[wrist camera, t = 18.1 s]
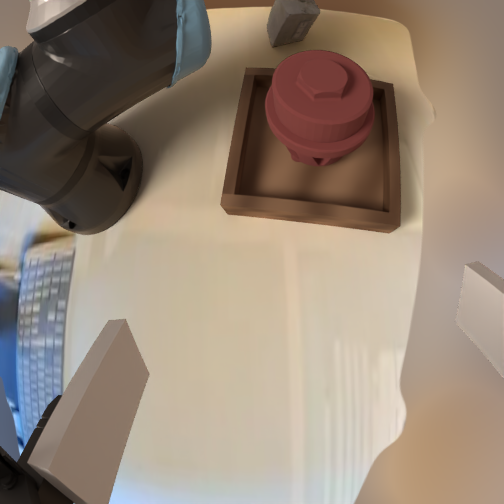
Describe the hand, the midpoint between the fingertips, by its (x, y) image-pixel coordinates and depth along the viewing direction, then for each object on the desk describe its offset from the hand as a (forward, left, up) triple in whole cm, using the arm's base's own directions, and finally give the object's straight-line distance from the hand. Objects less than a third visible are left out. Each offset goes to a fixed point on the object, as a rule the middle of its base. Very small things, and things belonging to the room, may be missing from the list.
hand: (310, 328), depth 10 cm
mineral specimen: (-29, +24, -22) cm, 44 cm away
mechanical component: (-12, +13, -20) cm, 27 cm away
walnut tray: (-12, +13, -21) cm, 28 cm away
